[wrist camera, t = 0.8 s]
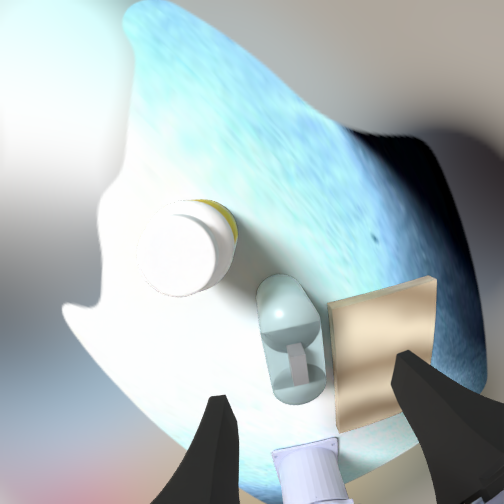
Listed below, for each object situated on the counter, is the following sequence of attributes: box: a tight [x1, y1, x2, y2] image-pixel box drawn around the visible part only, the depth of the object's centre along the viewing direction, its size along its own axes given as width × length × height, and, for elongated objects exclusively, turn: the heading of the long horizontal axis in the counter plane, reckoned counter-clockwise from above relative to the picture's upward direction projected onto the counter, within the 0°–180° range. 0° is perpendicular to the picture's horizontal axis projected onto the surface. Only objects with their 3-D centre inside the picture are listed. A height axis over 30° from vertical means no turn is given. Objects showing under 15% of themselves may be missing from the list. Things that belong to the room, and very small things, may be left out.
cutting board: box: [327, 276, 437, 434], centre depth 25 cm, size 16×11×2 cm
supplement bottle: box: [137, 199, 238, 297], centre depth 18 cm, size 5×5×10 cm
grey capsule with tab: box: [256, 274, 326, 405], centre depth 20 cm, size 9×4×8 cm, turn 11°
